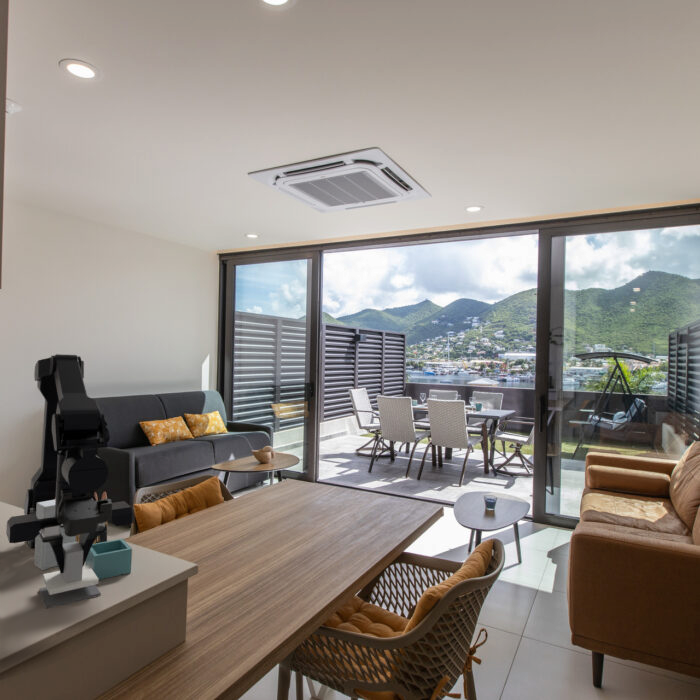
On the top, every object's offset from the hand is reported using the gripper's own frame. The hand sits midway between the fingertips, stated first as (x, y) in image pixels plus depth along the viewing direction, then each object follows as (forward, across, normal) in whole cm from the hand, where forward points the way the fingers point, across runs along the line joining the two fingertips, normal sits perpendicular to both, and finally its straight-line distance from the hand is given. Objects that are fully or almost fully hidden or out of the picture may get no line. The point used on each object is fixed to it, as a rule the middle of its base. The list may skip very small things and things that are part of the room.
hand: (70, 570), depth 86 cm
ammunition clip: (+4, +5, +19) cm, 20 cm away
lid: (+2, 0, 0) cm, 2 cm away
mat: (+4, 0, 0) cm, 4 cm away
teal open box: (+4, +8, +6) cm, 10 cm away
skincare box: (+4, 0, +15) cm, 16 cm away
